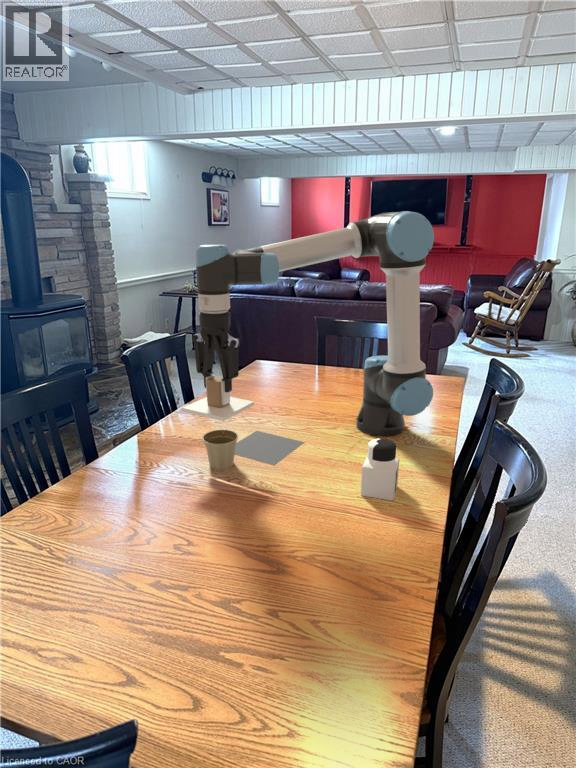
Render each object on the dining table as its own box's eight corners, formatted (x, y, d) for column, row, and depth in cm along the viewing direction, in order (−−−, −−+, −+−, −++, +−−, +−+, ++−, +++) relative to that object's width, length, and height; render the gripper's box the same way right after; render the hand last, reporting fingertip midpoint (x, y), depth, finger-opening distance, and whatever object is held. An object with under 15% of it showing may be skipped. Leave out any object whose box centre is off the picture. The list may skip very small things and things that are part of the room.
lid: (254, 405, 130) (253, 376, 128) (223, 421, 120) (222, 389, 117) (214, 396, 137) (213, 368, 134) (182, 411, 126) (180, 381, 124)
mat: (304, 444, 146) (304, 442, 146) (274, 467, 132) (274, 465, 132) (256, 432, 155) (256, 430, 154) (223, 453, 141) (223, 451, 140)
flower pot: (233, 476, 128) (232, 445, 125) (198, 472, 130) (196, 442, 127) (243, 459, 137) (242, 430, 134) (210, 456, 138) (209, 428, 136)
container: (397, 486, 123) (401, 437, 119) (393, 501, 116) (397, 450, 112) (366, 480, 125) (369, 433, 121) (360, 496, 118) (362, 446, 115)
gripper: (177, 310, 121) (183, 400, 129) (233, 316, 113) (236, 412, 120) (197, 305, 128) (202, 392, 135) (252, 311, 119) (254, 403, 127)
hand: (218, 401), depth 128 cm, fingers closed on lid, 4 cm apart
